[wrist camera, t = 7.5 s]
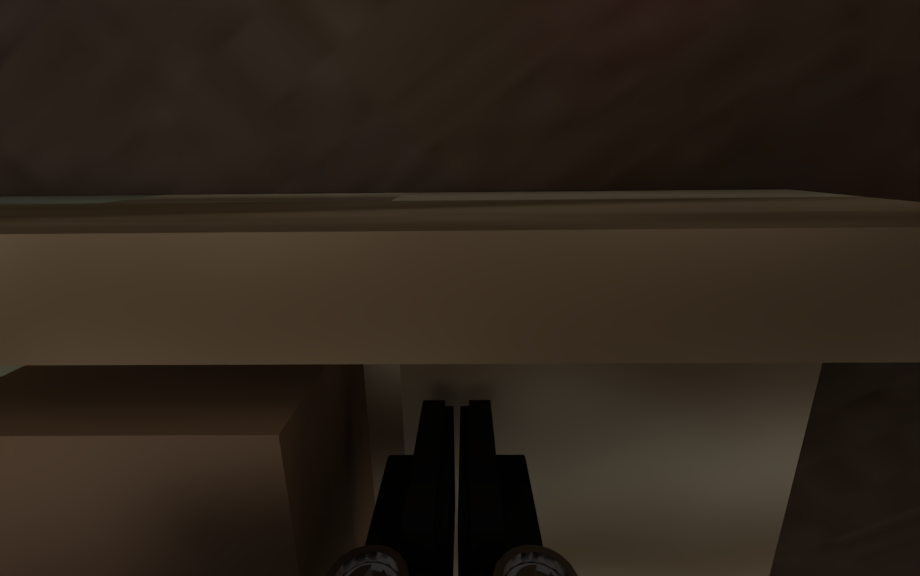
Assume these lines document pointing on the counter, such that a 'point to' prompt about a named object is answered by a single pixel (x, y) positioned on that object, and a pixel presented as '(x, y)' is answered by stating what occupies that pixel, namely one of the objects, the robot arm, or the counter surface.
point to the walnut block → (183, 469)
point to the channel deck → (616, 435)
